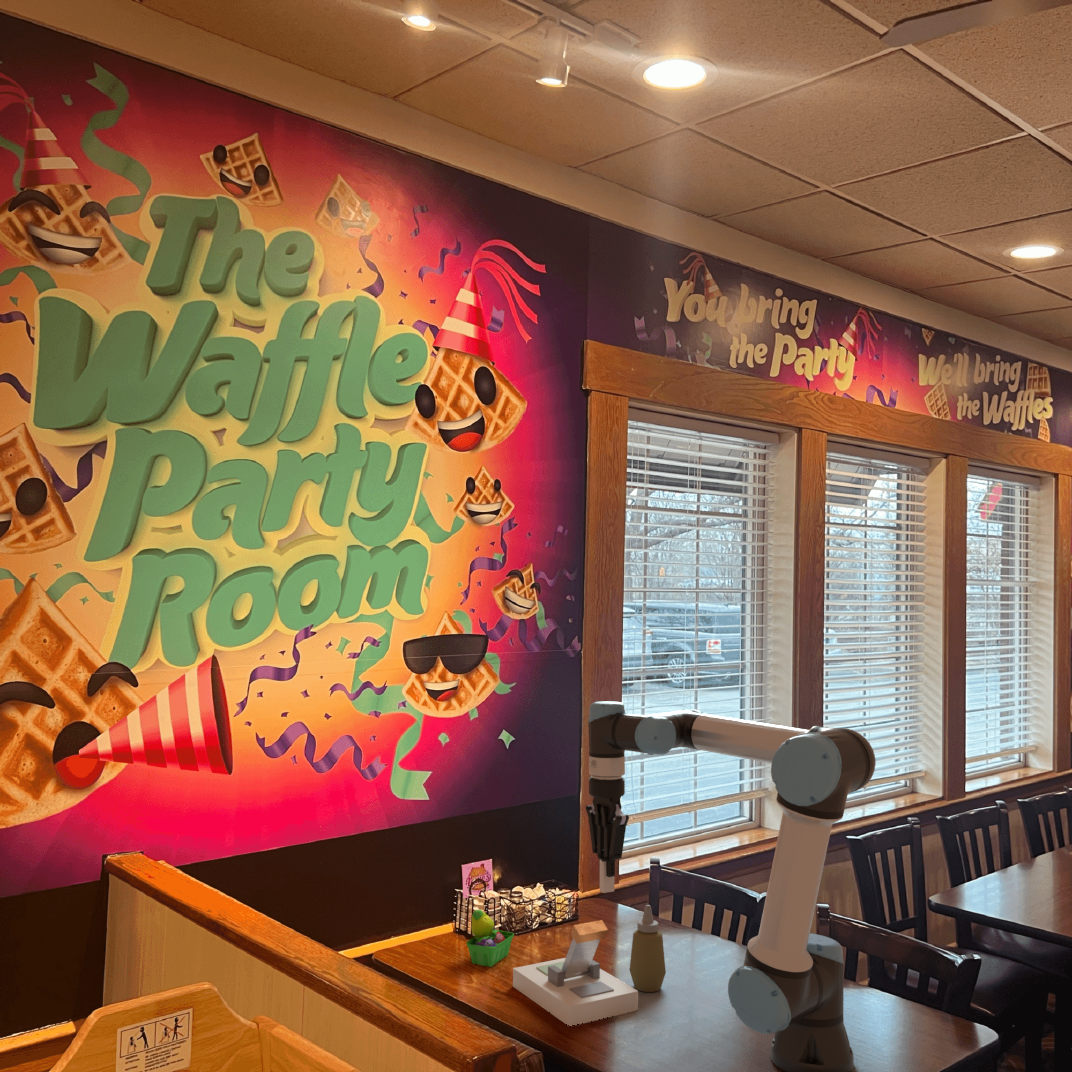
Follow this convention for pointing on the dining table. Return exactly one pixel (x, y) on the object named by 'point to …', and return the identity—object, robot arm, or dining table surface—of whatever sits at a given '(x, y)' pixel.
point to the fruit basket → (487, 941)
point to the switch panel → (575, 992)
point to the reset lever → (583, 948)
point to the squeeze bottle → (647, 954)
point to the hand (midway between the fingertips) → (607, 891)
